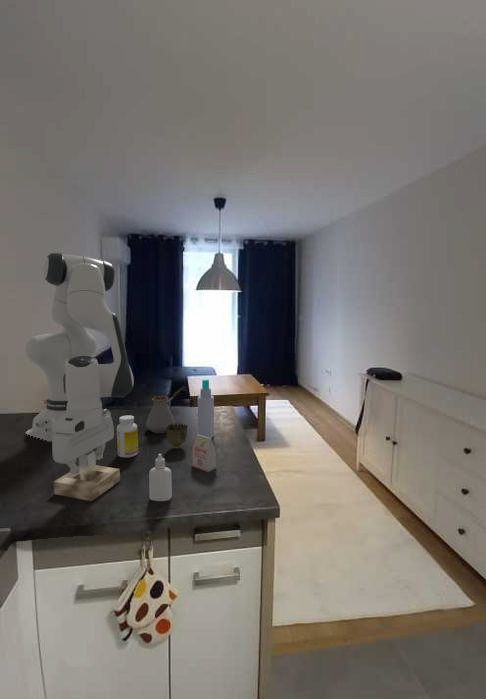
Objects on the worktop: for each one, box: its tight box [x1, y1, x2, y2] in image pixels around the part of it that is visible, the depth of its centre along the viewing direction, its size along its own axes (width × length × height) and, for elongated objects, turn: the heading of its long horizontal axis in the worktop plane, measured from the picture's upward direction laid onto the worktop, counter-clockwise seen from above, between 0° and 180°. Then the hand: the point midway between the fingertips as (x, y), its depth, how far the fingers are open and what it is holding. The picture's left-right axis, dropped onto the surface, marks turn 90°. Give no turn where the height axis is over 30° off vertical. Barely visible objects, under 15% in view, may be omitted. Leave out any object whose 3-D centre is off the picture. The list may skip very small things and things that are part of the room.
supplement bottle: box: [116, 415, 139, 459], centre depth 128 cm, size 7×7×13 cm
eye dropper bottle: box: [148, 453, 173, 502], centre depth 100 cm, size 4×6×12 cm
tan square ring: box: [53, 464, 121, 502], centre depth 106 cm, size 12×12×4 cm
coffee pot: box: [145, 385, 188, 434], centre depth 157 cm, size 21×12×15 cm, turn 150°
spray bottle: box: [197, 378, 215, 439], centre depth 145 cm, size 6×6×22 cm
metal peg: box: [78, 450, 97, 481], centre depth 106 cm, size 3×3×10 cm
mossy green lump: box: [165, 422, 188, 451], centre depth 134 cm, size 8×7×8 cm
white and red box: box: [191, 433, 217, 473], centre depth 119 cm, size 4×7×10 cm, turn 52°
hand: (87, 466), depth 106 cm, fingers open, 8 cm apart
